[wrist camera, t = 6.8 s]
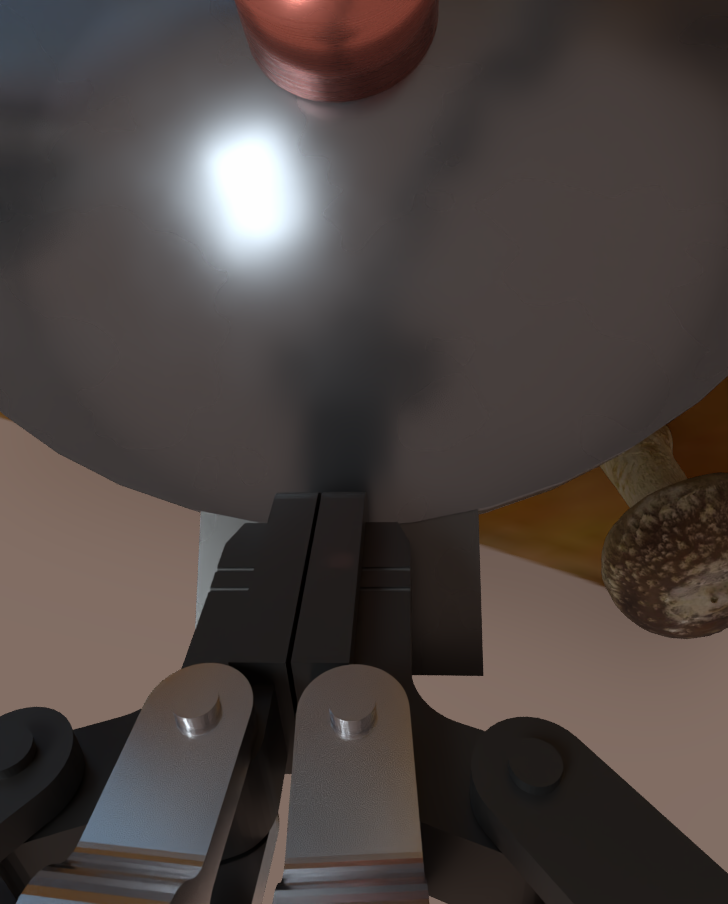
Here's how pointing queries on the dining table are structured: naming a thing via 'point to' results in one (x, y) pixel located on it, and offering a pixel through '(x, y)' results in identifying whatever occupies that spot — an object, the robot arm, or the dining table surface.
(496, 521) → the dining table surface
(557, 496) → the dining table surface
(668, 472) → the mushroom
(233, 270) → the cooker lid
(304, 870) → the robot arm
